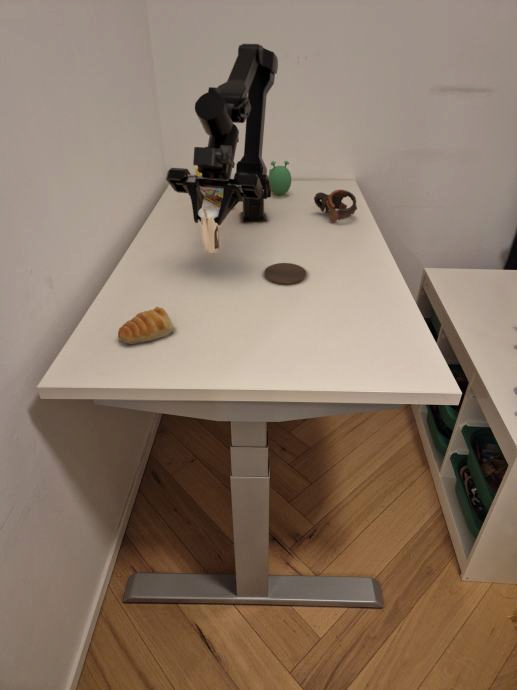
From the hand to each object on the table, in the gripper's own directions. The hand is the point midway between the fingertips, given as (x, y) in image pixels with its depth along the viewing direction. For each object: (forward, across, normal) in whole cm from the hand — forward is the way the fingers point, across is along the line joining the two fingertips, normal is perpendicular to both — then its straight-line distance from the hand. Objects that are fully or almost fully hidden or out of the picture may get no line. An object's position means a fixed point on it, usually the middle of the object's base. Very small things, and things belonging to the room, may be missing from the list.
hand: (207, 223), depth 93 cm
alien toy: (-30, +3, +49) cm, 57 cm away
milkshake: (+4, 0, +6) cm, 7 cm away
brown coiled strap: (-20, +21, +38) cm, 48 cm away
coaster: (+5, +15, +12) cm, 20 cm away
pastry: (+24, -4, -7) cm, 26 cm away
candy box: (-22, -14, +41) cm, 49 cm away
